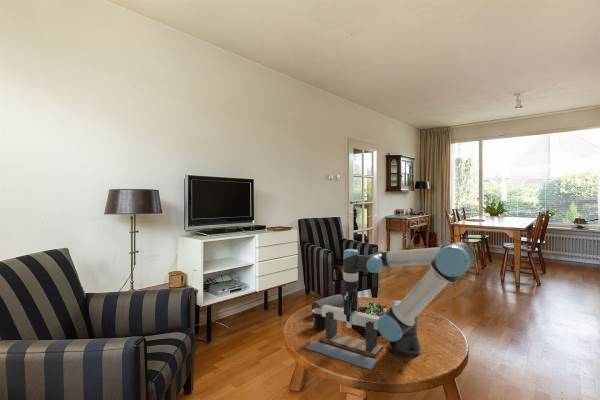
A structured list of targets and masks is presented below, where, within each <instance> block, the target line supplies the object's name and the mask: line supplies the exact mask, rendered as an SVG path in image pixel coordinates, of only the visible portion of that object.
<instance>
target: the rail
mask: <svg viewBox="0 0 600 400" xmlns="http://www.w3.org/2000/svg"><path fill="white" fill-rule="evenodd" d="M321 312H322V316H323V317H326V313H330V314H332V319H335V320H337V321H340V322H344V323H346V315H344V307H342V308H339V307H334V306H330V305H323V306H322V307H321ZM351 315H352V324H355V325H354V326H360V327H363V328H366V322H367V323H371V324H372V329H376V330H377V331H379V330H378V326H377V322H378V319H379V318H380V317H381V316H378V315H373V314H369V313H365V312H361V311H358V310H357V311H352V310H351Z"/></svg>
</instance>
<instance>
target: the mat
mask: <svg viewBox="0 0 600 400" xmlns="http://www.w3.org/2000/svg"><path fill="white" fill-rule="evenodd" d="M304 348H305V349H306V350H310V351H312V352H314V353H315V352H316V353H319V354H322V355H325V356H328V357H331V358H333V359H337V360H341V361H343V362H345V363H348V364H352V365H355V366H358V367H360V368H361V367H362V368H364V369H368V370H370V371H371V370H372V369H373V368H374V366H376V364H377V363H378V359H374V358H371V357H368V356H365V355H362V354H358V353H355V352H352V351H349V350H347V349H346V350H345V349H342V348H339V347H335V346H334V345H333V346H332V345H331V344H330V345H329V344H326V343H323V342H321V341H320V342H319V341H315V340H313V341H311V342H310V343H309V344H307V345H306V346H305V347H304Z"/></svg>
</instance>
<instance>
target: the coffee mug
mask: <svg viewBox="0 0 600 400" xmlns="http://www.w3.org/2000/svg"><path fill="white" fill-rule="evenodd" d="M311 312H312V320H313V328H314V330H315V331H319V332H323V331H326V317H323V316H322V312H321V308H316V309H313V310H312V309H311Z"/></svg>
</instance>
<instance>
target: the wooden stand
mask: <svg viewBox="0 0 600 400" xmlns="http://www.w3.org/2000/svg"><path fill="white" fill-rule="evenodd" d="M319 341H320V342H322V343H323V342H324V343H328V344H330V345H333V346H337V347H340V348H344V349H346V350H348V351H349V350H350V351H354V352H356V353H360V354H363V355H367V356H370V357H373V358H377V356H378V355H379V354H380V353H381V351H382V350H383V349H384V348H383V347H384V345H382V344H378V343H377V342H378V330H376V329H372V324H371V323H367V322H366V327H365V340H364V339H362V338H361V339H360V338H356V337H354V336H353V337H352V336H351V335H350V336H349V335H345V334H343V333H339V332H338V320H335V319H332V314H330V313H326V329H325V333H324V334H323V335H322V336H320V337H319Z"/></svg>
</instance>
